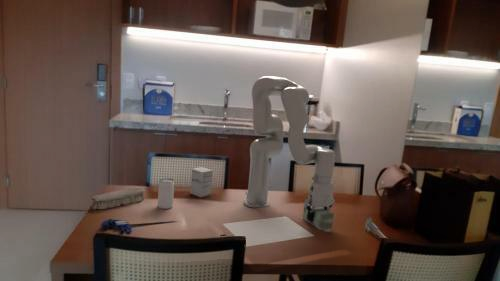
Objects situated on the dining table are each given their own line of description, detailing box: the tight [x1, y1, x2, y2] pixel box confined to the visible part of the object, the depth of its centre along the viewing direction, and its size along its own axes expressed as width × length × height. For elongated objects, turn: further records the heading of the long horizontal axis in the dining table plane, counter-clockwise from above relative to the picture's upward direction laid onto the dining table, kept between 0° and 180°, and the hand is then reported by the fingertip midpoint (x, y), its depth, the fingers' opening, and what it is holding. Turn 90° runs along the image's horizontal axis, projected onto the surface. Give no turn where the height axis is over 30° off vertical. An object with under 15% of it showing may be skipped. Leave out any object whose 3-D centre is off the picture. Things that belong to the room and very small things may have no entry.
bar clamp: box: [100, 218, 180, 235], centre depth 143 cm, size 32×2×10 cm
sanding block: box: [302, 204, 335, 233], centre depth 158 cm, size 12×6×8 cm, turn 29°
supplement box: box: [189, 166, 214, 198], centre depth 183 cm, size 7×7×13 cm
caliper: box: [364, 216, 387, 238], centre depth 151 cm, size 20×1×6 cm, turn 17°
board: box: [222, 215, 315, 247], centre depth 147 cm, size 20×30×2 cm, turn 119°
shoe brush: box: [91, 187, 146, 210], centre depth 162 cm, size 24×8×5 cm, turn 140°
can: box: [157, 177, 175, 210], centre depth 163 cm, size 6×6×12 cm
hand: (317, 219), depth 158 cm, fingers open, 7 cm apart
